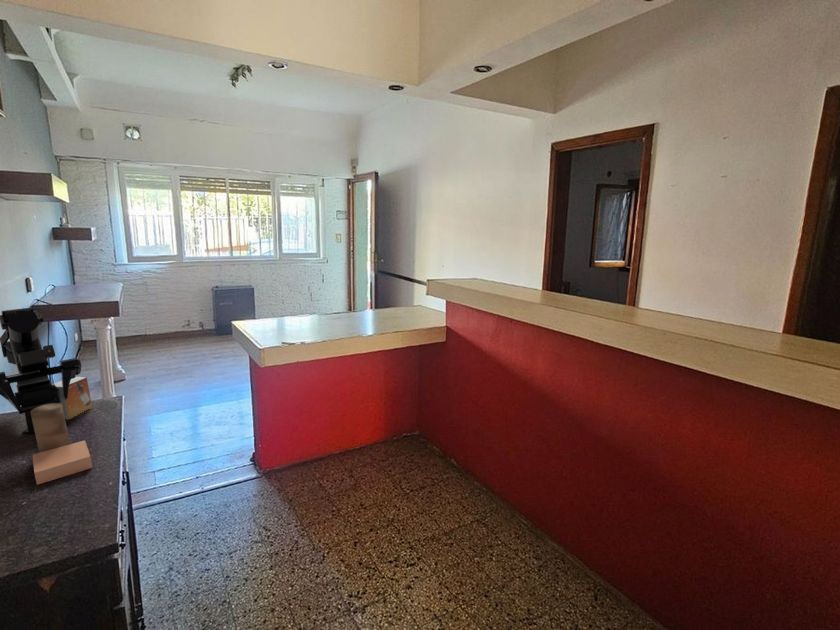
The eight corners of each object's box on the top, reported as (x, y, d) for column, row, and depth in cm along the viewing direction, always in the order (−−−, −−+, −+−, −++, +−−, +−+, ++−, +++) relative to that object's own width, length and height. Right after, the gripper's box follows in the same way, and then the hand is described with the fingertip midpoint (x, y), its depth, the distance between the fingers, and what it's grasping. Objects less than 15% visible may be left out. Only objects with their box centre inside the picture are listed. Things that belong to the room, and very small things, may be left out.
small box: (68, 420, 127) (61, 387, 125) (52, 419, 128) (45, 385, 126) (93, 408, 135) (87, 376, 132) (78, 407, 136) (71, 375, 133)
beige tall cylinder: (49, 447, 112) (40, 404, 109) (75, 445, 113) (67, 402, 111) (34, 460, 106) (24, 414, 104) (61, 457, 108) (52, 412, 105)
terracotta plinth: (34, 466, 104) (32, 454, 103) (86, 451, 111) (84, 440, 110) (37, 484, 97) (34, 472, 96) (92, 467, 103) (90, 456, 103)
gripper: (-26, 344, 102) (-10, 404, 98) (74, 329, 115) (90, 381, 112) (-21, 365, 109) (-7, 421, 106) (72, 348, 123) (87, 398, 119)
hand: (43, 404), depth 110 cm, fingers open, 9 cm apart
